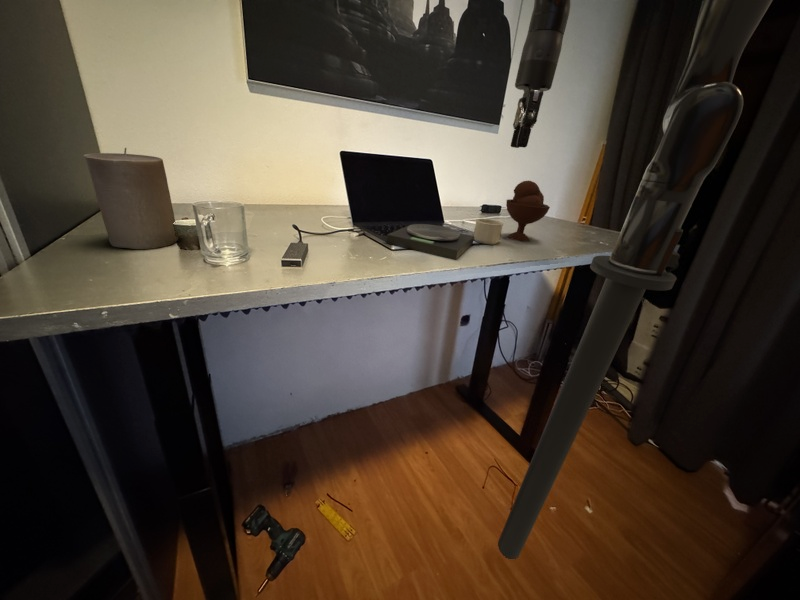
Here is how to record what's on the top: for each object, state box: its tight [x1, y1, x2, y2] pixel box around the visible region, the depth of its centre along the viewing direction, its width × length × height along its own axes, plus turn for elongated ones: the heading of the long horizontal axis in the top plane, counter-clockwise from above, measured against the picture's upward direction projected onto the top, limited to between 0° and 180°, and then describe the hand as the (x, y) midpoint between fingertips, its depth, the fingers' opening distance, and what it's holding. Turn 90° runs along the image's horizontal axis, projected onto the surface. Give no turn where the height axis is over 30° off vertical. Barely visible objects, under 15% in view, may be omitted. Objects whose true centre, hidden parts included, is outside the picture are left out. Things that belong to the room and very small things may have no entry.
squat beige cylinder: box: [472, 218, 504, 245], centre depth 82 cm, size 6×6×5 cm
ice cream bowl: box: [505, 180, 551, 242], centre depth 86 cm, size 11×11×15 cm
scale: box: [386, 223, 475, 260], centre depth 75 cm, size 16×15×2 cm
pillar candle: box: [83, 147, 179, 250], centre depth 54 cm, size 10×10×15 cm
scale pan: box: [407, 223, 461, 241], centre depth 74 cm, size 12×12×1 cm
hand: (517, 147), depth 75 cm, fingers open, 8 cm apart
